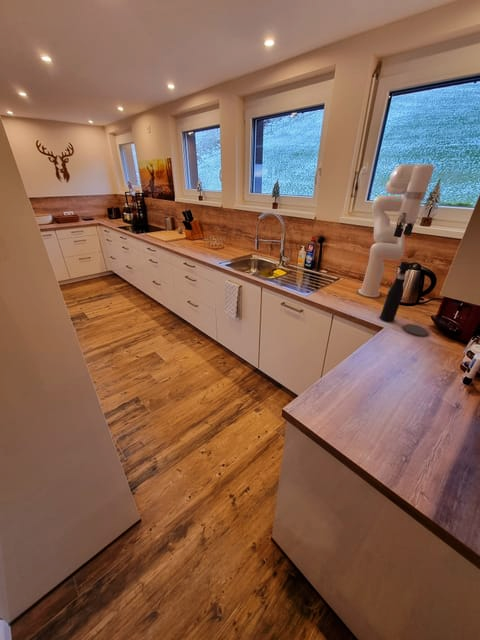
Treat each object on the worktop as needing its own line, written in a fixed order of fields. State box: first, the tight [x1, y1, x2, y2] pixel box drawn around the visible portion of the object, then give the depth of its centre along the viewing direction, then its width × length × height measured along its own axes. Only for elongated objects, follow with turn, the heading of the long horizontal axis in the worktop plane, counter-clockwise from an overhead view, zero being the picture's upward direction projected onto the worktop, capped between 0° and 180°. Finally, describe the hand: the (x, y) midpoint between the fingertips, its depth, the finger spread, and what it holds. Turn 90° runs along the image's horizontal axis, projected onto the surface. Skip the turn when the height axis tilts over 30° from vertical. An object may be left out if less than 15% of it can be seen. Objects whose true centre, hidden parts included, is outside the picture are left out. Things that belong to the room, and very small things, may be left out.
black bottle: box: [380, 261, 411, 323], centre depth 129 cm, size 6×6×30 cm
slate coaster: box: [403, 323, 429, 337], centre depth 127 cm, size 10×10×1 cm
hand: (402, 235), depth 126 cm, fingers open, 9 cm apart
